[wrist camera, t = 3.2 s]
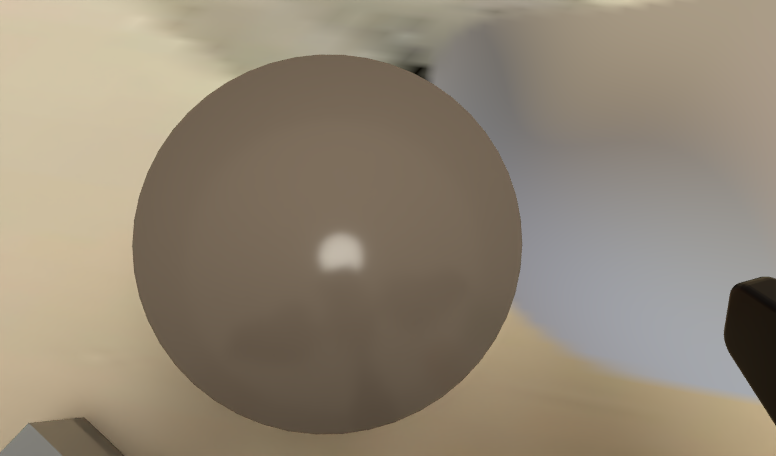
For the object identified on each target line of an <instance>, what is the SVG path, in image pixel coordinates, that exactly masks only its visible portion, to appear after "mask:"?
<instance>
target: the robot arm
mask: <svg viewBox="0 0 776 456" xmlns="http://www.w3.org/2000/svg"><path fill="white" fill-rule="evenodd" d="M724 340H725V343H726V346H727V349H728V351H729V353H730V355H731V356H732V358H733V360H734V361H735V363H736V364H737V366H738V367H739V369H740V370H741V372H742V374H743V375H744V377H745V378H746V380H747V381H748V383H749V385H750V386H751V388H752V389H753V391H754V392H755V394H756V395H757V397H758V399H759V400H760V402H761V403H762V405H763V406H764V408H765V410H766V411H767V413H768V414H769V416H770V417H771V419H772V420H773V422H774V424H775V425H776V279H775V278H771V277H759V278H755V279H752V280H748V281H745V282H741V283H738V284H736V285H735V286H734V287H733V288H732V290H731V292H730V297H729V303H728V310H727V315H726V322H725V328H724Z"/></svg>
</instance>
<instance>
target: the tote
mask: <svg viewBox="0 0 776 456" xmlns="http://www.w3.org/2000/svg"><path fill="white" fill-rule="evenodd" d="M0 456H124V455H123V454H122V453H121V452H120V451H119V450H118V449H117V448H115V447H114V446H113V445H112V444H111V443H110V442H109V441H108V440H107V439H106V438H105V437H104V436H103V435H102V434H101V433H100V432H99V431H98V430H97V429H95V428H94V427H93V426H92V425H91V424H90V423H89V422H88V421H87V420H86V419H85V418H74V419H64V420H54V421H44V422H34V423H28V424H27V425H26V426H25V427H24V428H23V430H22V431H21V432H20V433H19V434H18V435H17V436H16V437H15V438H14V439H13V440H12V441H11V442H10V443H9V444H8V445H7V446H6V447H5V448H4V449H3V450H2V451H1V452H0Z"/></svg>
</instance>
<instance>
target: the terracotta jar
mask: <svg viewBox="0 0 776 456" xmlns="http://www.w3.org/2000/svg"><path fill="white" fill-rule="evenodd" d="M521 234H522V233H521V219H520V213H519V208H518V203H517V198H516V194H515V191H514V188H513V185H512V182H511V179H510V176H509V173H508V171H507V169H506V167H505V165H504V163H503V161H502V159H501V157H500V154H499V153H498V151H497V149H496V148H495V146H494V145H493V143H492V141H491V140H490V138H489V137H488V136H487V134H486V132H485V131H484V130H483V129H482V128H481V126H480V125H479V124H478V123H477V122H476V121H475V119H474V118H473V117H472V116H471V115H470V114H469V113H468V112H467V111H466V110H465V109H464V108H463V107H462V106H461V105H460V104H458V102H456V101H455V100H454V99H453V98H452V97H451V96H449V95H448V94H446V93H445V92H444V91H442V90H441V89H439V88H438V87H437V86H435V85H434V84H432V83H430V82H428V81H427V80H425V79H423V78H421V77H419V76H417V75H415V74H414V73H412V72H409V71H406V70H404V69H401V68H399V67H396V66H394V65H391V64H388V63H384V62H380V61H376V60H372V59H368V58H362V57H354V56H347V55H312V56H303V57H295V58H290V59H286V60H282V61H278V62H273V63H270V64H267V65H265V66H262V67H259V68H256V69H254V70H251V71H248V72H246V73H245V74H243V75H241V76H239V77H237V78H235V79H233V80H231V81H229V82H227V83H226V84H224V85H223V86H221V87H220V88H218V89H217V90H215V91H214V92H212V93H211V94H209V95H208V96H207V97H205V98H204V99H203V100H202V101H201V102H200V103H199V104H197V105H196V106H195V107H194V108H193V109H192V110H191V111H189V112H188V114H187V115H186V116H185V117H184V118H183V119H182V120H181V121H180V123H179V124H178V125H177V126H176V127H175V128H174V129H173V130H172V132H171V133H170V135H169V136H168V138H167V139H166V141H165V142H164V144H163V145H162V147H161V148H160V149H159V151H158V153H157V155H156V157H155V159H154V161H153V163H152V165H151V167H150V169H149V171H148V173H147V176H146V178H145V181H144V184H143V187H142V190H141V193H140V196H139V200H138V205H137V210H136V214H135V219H134V230H133V245H132V247H133V262H134V273H135V278H136V283H137V287H138V292H139V297H140V299H141V302H142V305H143V308H144V311H145V313H146V316H147V319H148V321H149V323H150V325H151V327H152V329H153V331H154V333H155V335H156V337H157V339H158V340H159V342H160V344H161V345H162V347H163V348H164V350H165V351H166V352H167V354H168V355H169V357H170V358H171V359H172V361H173V362H174V364H175V365H176V366H177V367H178V368H179V369H180V370H181V371H182V372H183V373H184V374H185V375H186V376H187V377H188V379H189V380H190V381H191V382H192V383H193V384H194V385H196V386H197V387H198V388H200V389H201V390H202V391H203V392H205V393H206V394H207V395H208V396H210V397H211V398H212V399H213V400H215V401H217V402H218V403H220V404H222V405H223V406H225V407H227V408H228V409H230V410H232V411H234V412H235V413H237V414H239V415H242V416H244V417H246V418H249V419H251V420H254V421H256V422H258V423H261V424H264V425H268V426H271V427H275V428H279V429H283V430H287V431H293V432H301V433H310V434H344V433H350V432H357V431H363V430H370V429H373V428H376V427H380V426H383V425H386V424H390V423H393V422H396V421H398V420H401V419H403V418H405V417H407V416H409V415H412V414H414V413H416V412H418V411H420V410H422V409H424V408H425V407H427V406H428V405H430V404H432V403H433V402H435V401H436V400H438V399H440V398H441V397H443V396H444V395H445V394H446V393H448V392H449V391H450V390H451V389H452V388H454V387H455V386H456V385H457V384H458V383H460V382H461V381H462V380H463V379H464V378H465V377H466V376H467V375H468V374H469V372H470V371H471V370H472V369H473V368H474V367H475V366H476V365H477V364H478V363H479V362H480V360H481V359H482V358H483V356H484V355H485V353H486V352H487V350H488V349H489V348H490V346H491V345H492V343H493V342H494V340H495V339H496V337H497V335H498V333H499V331H500V329H501V327H502V325H503V323H504V321H505V319H506V317H507V315H508V312H509V309H510V306H511V304H512V301H513V298H514V295H515V292H516V287H517V282H518V277H519V273H520V265H521V253H522V235H521Z"/></svg>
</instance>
